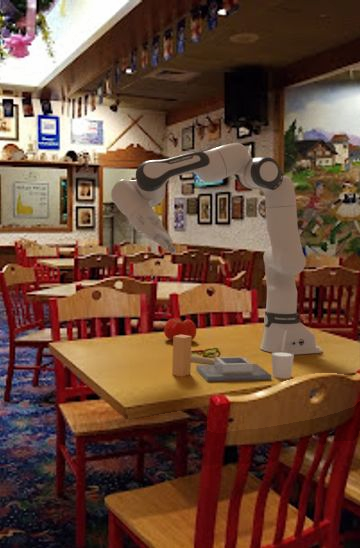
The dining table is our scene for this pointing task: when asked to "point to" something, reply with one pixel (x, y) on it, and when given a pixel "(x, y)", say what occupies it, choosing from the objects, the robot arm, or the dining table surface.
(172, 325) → the tomato
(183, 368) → the orange rectangular block
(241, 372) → the square socket plate
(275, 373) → the white tapered cup
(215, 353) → the pizza slice
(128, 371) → the dining table surface
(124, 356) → the dining table surface
